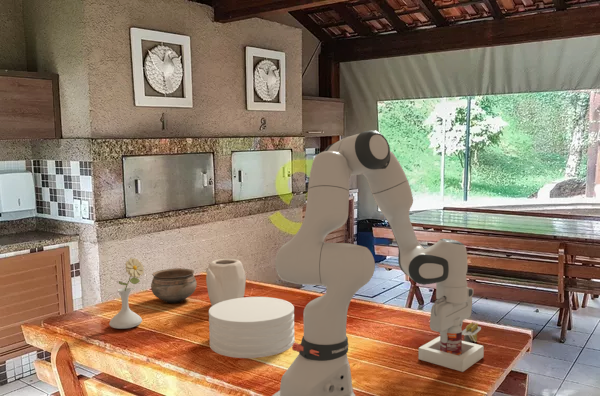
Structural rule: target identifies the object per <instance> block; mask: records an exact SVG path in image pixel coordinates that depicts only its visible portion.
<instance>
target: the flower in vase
mask: <svg viewBox="0 0 600 396" xmlns="http://www.w3.org/2000/svg"><path fill="white" fill-rule="evenodd" d="M144 271H145V268H144V265H143V264H142V262H141V261H140V260H139V259H138V258H136V257H133V258H132V257H130V258H129V259H128V261H127V260H126V262H125V273H127V274H128V275H129V279H128V281H127V283H126V282H122V281H120V280H118V284H119V285H120V286H121V285H122V286H125V287H121V288H118V289H117V292H118V293H119V295H120V299H121V308H120V310H119V312H118V313H116V314H115V315H114V316H113V317H112V318H111V319H110V321H109V323H108V324H109V326H110V327H111V328H114V329H118V330H119V329H120V330H121V329H122V330H123V329H131V328H134V327H137V326H139V325H140V324H141V323H142V322H143V318H142V317H141V316H140V315H139V314H137V313H136V312H134V311H133V310H131V308H130V306H129V297H130V293H131V291H132V288H131V287H128V284H129V283H131V284H133V285H136V284H139V283H140V282H141V281H140V278H141V276H143V274H145V272H144Z"/></svg>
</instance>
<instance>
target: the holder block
mask: <svg viewBox="0 0 600 396" xmlns="http://www.w3.org/2000/svg"><path fill="white" fill-rule="evenodd" d="M484 348H485V347H484V345H481V344H477V343H475V342H474V343H473V342H466V341H464V340H462V352H461V355H460V356H458V355H454V354H450V353H447V352H443V351H440V335H439V336H437V337H435V338H434V339H432V340H430V341H429V342H426V343H425V344H422V345H421V346H420V347H418V360H421V361H424V362H428V363H431V364H435V365H438V366H440V367H445V368H448V369H451V370H456V371H458V372H461V373H464V372H465V371H466V370H468V369H469V368H470V367H472V366H473V365H474V364H476V363H477V362H479V361H480V360H481V359H483V358H484V353H485V349H484Z"/></svg>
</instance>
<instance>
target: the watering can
mask: <svg viewBox="0 0 600 396" xmlns="http://www.w3.org/2000/svg"><path fill="white" fill-rule="evenodd" d="M204 270H205V272H206V277H205V281H206V282H205V283H206V288H207V289H206V290H207V293H208V294H207V295H208V299H209V301H210V305H211V307H212V306H213V305H215V304H217V303H219V302H222V301H226V300H230V299H236V298H243V297H244V296H245V293H246V292H245V291H246V281H247V278H246V272H245V268H244V265H243V262H242V261H241V260H239V259H237V258H236V259H235V258H219V259H214V260H212V261H211V262H210V263H208V267H206V268H205V269H204Z"/></svg>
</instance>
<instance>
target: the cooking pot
mask: <svg viewBox="0 0 600 396" xmlns="http://www.w3.org/2000/svg"><path fill="white" fill-rule="evenodd" d="M194 274H195V270H193V269H190V268H185V267H184V268H182V267H181V268H179V267H177V268H166V269H160V270H157V271H155V272H153V273H152V274H151V275H152V276H153V277H152V281H151V283H150V284H151V285H150V289H151V292H152V294H153V295H154V296H155V297H156V298H158V299H159V300H161V301H164V302H166V303H168V304H177V303H178V304H179V303H181V302H183V301H184V300H186V299H187V298H189V297H190V296H192V295H193V294H194V292H195V291H196V288H197V283H198V282H197V280H196V277H195V275H194Z"/></svg>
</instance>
